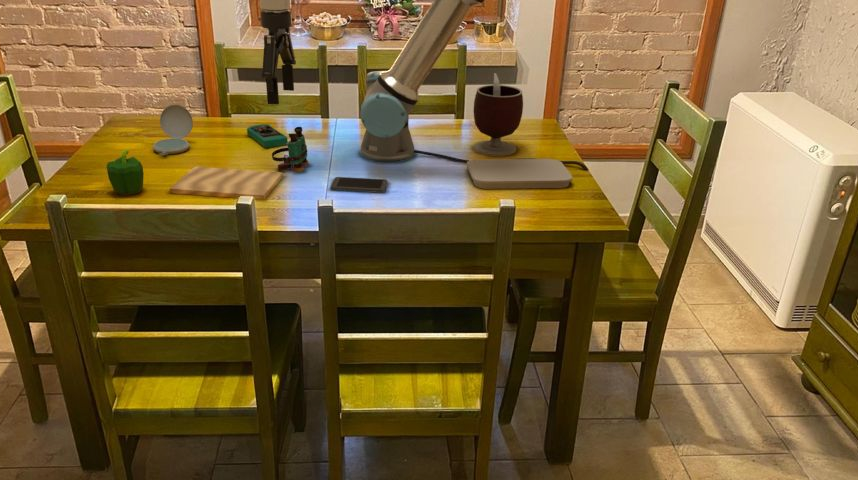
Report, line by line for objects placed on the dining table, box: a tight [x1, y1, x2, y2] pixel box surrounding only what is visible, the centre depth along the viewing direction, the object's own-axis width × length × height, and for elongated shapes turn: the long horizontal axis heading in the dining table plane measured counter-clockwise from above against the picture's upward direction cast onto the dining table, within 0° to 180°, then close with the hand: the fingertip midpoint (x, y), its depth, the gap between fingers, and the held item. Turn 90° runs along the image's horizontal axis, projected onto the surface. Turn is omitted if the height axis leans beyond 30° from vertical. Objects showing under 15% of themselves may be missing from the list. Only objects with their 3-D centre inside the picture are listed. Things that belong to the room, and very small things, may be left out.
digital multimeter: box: [246, 123, 289, 149], centre depth 217 cm, size 7×15×3 cm, turn 31°
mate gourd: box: [473, 72, 524, 157], centre depth 211 cm, size 16×14×20 cm
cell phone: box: [330, 176, 389, 193], centre depth 187 cm, size 7×14×1 cm, turn 85°
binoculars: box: [271, 126, 310, 173], centre depth 196 cm, size 9×11×10 cm
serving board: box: [169, 165, 284, 201], centre depth 186 cm, size 24×16×1 cm, turn 82°
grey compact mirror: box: [152, 104, 194, 156], centre depth 207 cm, size 10×11×15 cm
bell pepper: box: [106, 149, 145, 195], centre depth 179 cm, size 8×8×10 cm
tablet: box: [466, 158, 573, 190], centre depth 194 cm, size 16×26×2 cm, turn 94°
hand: (281, 96), depth 189 cm, fingers open, 13 cm apart
